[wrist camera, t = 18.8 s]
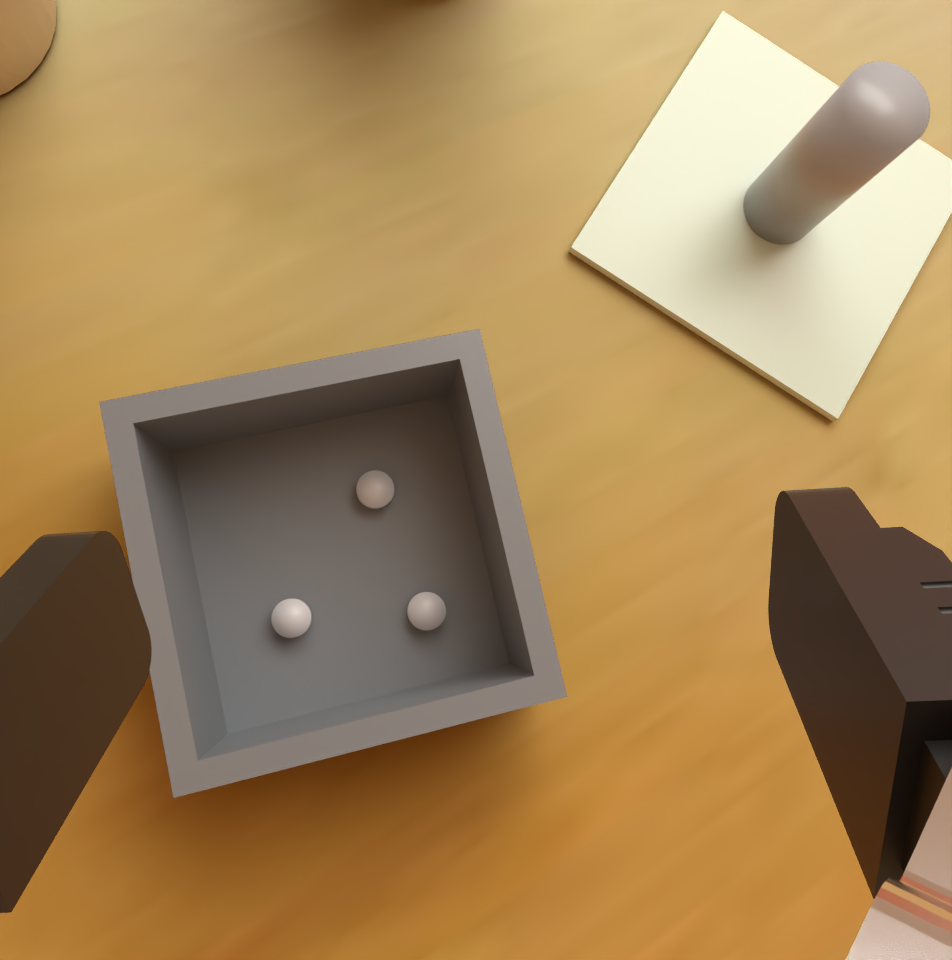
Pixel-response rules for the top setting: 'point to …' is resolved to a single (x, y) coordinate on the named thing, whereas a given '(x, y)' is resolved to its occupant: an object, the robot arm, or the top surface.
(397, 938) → the top surface
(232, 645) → the parts box
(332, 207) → the top surface
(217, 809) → the top surface
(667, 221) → the lid
